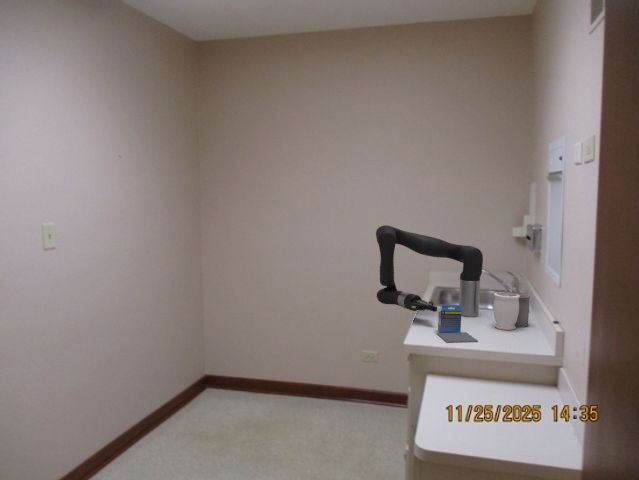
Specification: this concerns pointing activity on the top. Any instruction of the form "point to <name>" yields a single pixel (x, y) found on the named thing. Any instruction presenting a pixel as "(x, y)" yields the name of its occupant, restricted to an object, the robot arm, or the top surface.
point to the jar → (506, 310)
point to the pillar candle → (522, 310)
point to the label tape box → (449, 319)
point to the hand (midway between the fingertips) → (436, 309)
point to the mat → (457, 337)
